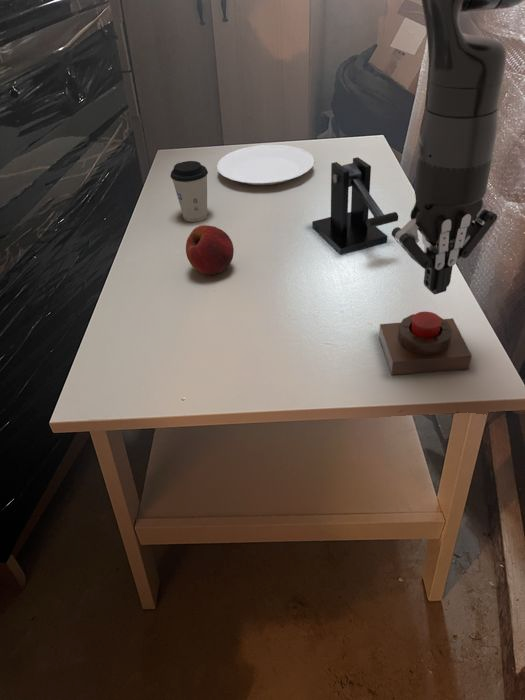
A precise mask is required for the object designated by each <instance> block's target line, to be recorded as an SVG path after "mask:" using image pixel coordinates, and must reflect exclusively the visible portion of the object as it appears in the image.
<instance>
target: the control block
mask: <svg viewBox="0 0 525 700" xmlns="http://www.w3.org/2000/svg"><path fill="white" fill-rule="evenodd" d="M415 314H416V313H413V314H411V315H408V316H406V317H405V318H402V320H401V322H390V323H389V322H388V323H380V324H379V332H378V337H379V338H378V339H379V341H380V344H381V347H382V350H383V353H384V356H385V359H386V362H387V366H388V368H389V372H390V374H391V376H394V375H405V374H406V375H407V374H416V373H417V374H419V373H432V372H442V371H444V372H445V371H457V370H467V369H468V370H469V369H470V365H471V363H472V358H473V357H472V356H473V355H472V353H471V351H470V349H469V347H468V345H467V343H466V342H465V339H464V337H463V335H462V334H461V331H460V329H459V327H458V326H457V324H456V322H455V320H454V318H443V317H441V316H439V317H440V318H441V321H442V322H441V328H440V333H439V335H438V336H437V337H435V338H429V339H425V338H421V337H417V336H415V335H414V334H413V333H412V331H411V326H412V318H413V316H414V315H415Z"/></svg>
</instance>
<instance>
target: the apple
mask: <svg viewBox="0 0 525 700" xmlns="http://www.w3.org/2000/svg"><path fill="white" fill-rule="evenodd" d="M234 250H235V247H234V244H233V241H232V239H231V238H230V236H229V235H228V233H226V232H225V231H224V230H222V229H221V228H219V227H216V226H214V225H207V224H202V225H199V226H196V227H195V228H193V229H192V231H191V232H190V234H189V235H188V237H187V240H186V242H185V255H186V257H187V258H186V259H187V261H188V262H189V264H190V266H192V267H193V269H194V270H196V271H197V272H199V273H200V274H203V275H207V276H208V275H209V276H210V275H216V274H220V273H222V272H223V271H224V270H226V269H227V268H228V267H229V266H230V265H231V263H232V261H233V259H234V252H235V251H234Z"/></svg>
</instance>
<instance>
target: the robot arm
mask: <svg viewBox="0 0 525 700" xmlns="http://www.w3.org/2000/svg"><path fill="white" fill-rule="evenodd" d="M524 1H525V0H421V6H422V11H423V15H424V23H425V31H426V40H427V54H428V55H427V56H428V65H427V67H428V68H427V79H426V89H425V98H424V99H425V100H424V108H423V113H422V118H421V123H420V127H419V135H418V136H419V137H418V147H417V155H416V164H415V165H416V166H415V178H414V188H413V189H414V196H415V203H414V205H413V208H412V209H411V212H410V220H409V221H408V222H407V223H405V225H404V226H402V228H401V227H399V226H396V227H393V229H392V231H391V236H392V238H393V239H394V240H395V241H396V242H397V243H398V244H399V245H400V247H401V248H402V249H403V250H404V251H405V253H407V255H408V256H409V257H410V258H411V260H413V261H414V262H415V263H417V264H418V265H419V266H420V267H421V268H422V269H424V277H423V286H424V287H425V288H426V289H427V290H428V291H429V292H431V293H432V294H433V295H438V294H442V293H446V292H447V288H448V287H449V285H450V284H451V278H452V274H453V266H455V265H456V264H457V261H458V260H459V259H461V258H462V259H467V258H468V257H470V255H471V254H472V252H473V251H474V250H475V248H476V247H477V246H478V244H479V243H480V241H481V240H482V239H483V238H484V237H485V235H486V234H487V233H488V232H489V230H490V229H491V227H493V225H494V224H495V222H496V221H497V220H498V215H497V214H496V213H494V212H493V211H492V210H490V209H489V208H487V207H485V206H484V200H483V198H484V197H485V195H486V193H487V190H488V189H487V188H488V184H489V178H490V171H491V166H492V162H493V161H492V159H493V154H494V150H495V143H496V139H497V138H496V137H497V131H498V113H499V106H500V101H501V94H502V89H503V82H504V77H505V73H506V72H505V71H506V65H507V49H506V46H505V45H504V44H503V43H502V42H500V41H499V40H497V39H495V38H492V37H486V36H482V35H481V36H480V35H473V34H469V33H464V32H463V31H462V29H461V26H460V13H465V12H477V11H478V12H479V11H490V10H502V9H508V8H513V7H515V6H518V5H520V4H521V3H523V2H524ZM418 231H419V233H420V235H422V237H421V238H422V240H421V242H422V244H423V245H424V247H423V248H424V249H422V247H420V246H419V244H418V243H419V242H420V239H419V234H418ZM468 237H469V238H468ZM467 238H468V240H467ZM466 240H467V241H466ZM465 241H466V242H465Z"/></svg>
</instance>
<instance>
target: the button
mask: <svg viewBox="0 0 525 700" xmlns="http://www.w3.org/2000/svg"><path fill="white" fill-rule="evenodd" d="M414 314H415V315H414V316H413V318H412V326H411V331H412V333H413V334H414V335H415V336H417V337H421V338H425V339H429V338H435V337H437V336H438V335H439V333H440V328H441V322H442V321H441V318H442V317H441V316H439V314H436V313H435V312H431V311H418V312H416V313H414ZM440 317H441V318H440Z"/></svg>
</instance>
